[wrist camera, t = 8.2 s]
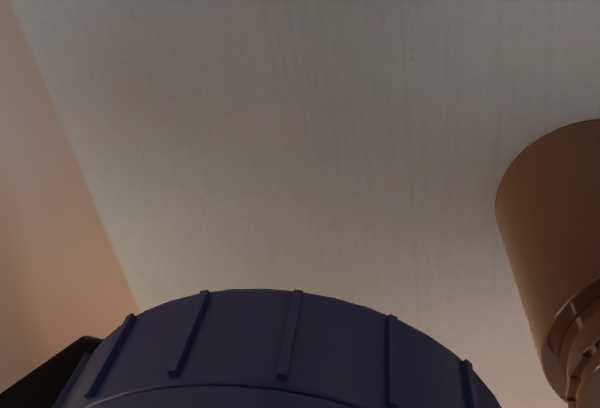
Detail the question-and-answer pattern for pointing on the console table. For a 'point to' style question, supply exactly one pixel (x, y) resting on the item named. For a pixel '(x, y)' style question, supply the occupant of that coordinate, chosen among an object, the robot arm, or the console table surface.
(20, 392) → the robot arm
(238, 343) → the jar lid
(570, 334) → the jar
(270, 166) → the console table surface
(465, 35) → the console table surface
